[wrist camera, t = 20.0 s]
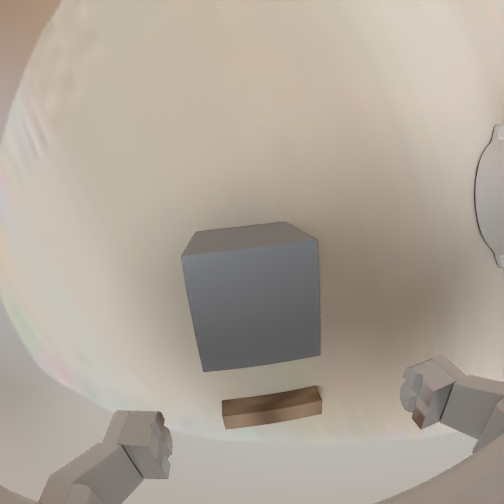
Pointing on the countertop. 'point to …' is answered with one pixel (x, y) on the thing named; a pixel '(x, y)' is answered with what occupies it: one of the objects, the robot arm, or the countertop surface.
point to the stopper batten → (271, 408)
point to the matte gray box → (253, 295)
